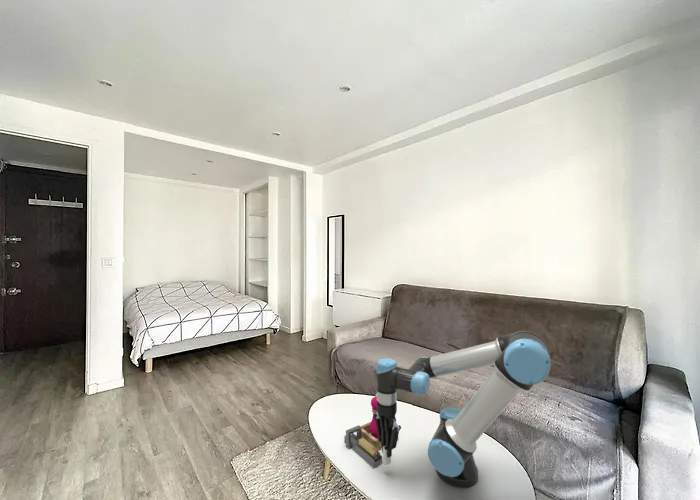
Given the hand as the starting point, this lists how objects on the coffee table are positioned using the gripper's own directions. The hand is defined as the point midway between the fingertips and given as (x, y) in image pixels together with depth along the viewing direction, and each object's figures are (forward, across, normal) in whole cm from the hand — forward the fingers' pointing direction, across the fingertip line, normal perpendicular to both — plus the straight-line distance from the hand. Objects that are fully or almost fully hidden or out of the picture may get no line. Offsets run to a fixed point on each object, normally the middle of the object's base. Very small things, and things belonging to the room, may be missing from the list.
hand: (386, 463), depth 116 cm
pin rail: (+4, +15, 0) cm, 16 cm away
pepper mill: (+4, +19, -12) cm, 22 cm away
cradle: (+4, +19, -12) cm, 22 cm away
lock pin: (+2, +11, 0) cm, 11 cm away
